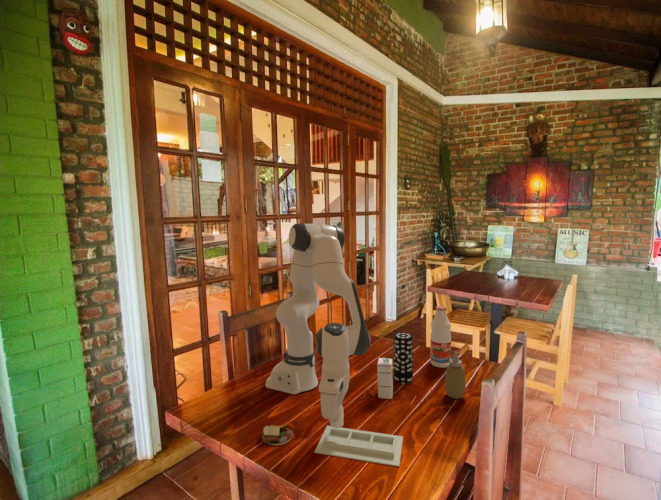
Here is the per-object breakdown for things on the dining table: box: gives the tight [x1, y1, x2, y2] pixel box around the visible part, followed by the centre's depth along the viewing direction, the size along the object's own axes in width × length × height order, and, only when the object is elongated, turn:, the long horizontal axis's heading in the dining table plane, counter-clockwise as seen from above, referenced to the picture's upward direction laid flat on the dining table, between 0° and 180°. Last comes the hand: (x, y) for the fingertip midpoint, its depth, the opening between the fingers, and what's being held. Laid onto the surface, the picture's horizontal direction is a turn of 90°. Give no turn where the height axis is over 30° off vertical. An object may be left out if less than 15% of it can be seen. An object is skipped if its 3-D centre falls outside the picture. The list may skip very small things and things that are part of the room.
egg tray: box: [314, 425, 404, 468], centre depth 116 cm, size 26×14×2 cm, turn 74°
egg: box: [329, 404, 345, 428], centre depth 117 cm, size 4×4×7 cm
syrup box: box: [376, 357, 394, 400], centre depth 146 cm, size 6×6×14 cm
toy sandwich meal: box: [261, 423, 294, 446], centre depth 121 cm, size 9×10×4 cm
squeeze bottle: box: [444, 351, 467, 400], centre depth 144 cm, size 8×8×18 cm
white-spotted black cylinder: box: [393, 331, 414, 385], centre depth 158 cm, size 8×8×20 cm
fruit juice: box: [429, 305, 452, 369], centre depth 173 cm, size 9×9×28 cm
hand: (336, 416), depth 117 cm, fingers closed on egg, 4 cm apart
